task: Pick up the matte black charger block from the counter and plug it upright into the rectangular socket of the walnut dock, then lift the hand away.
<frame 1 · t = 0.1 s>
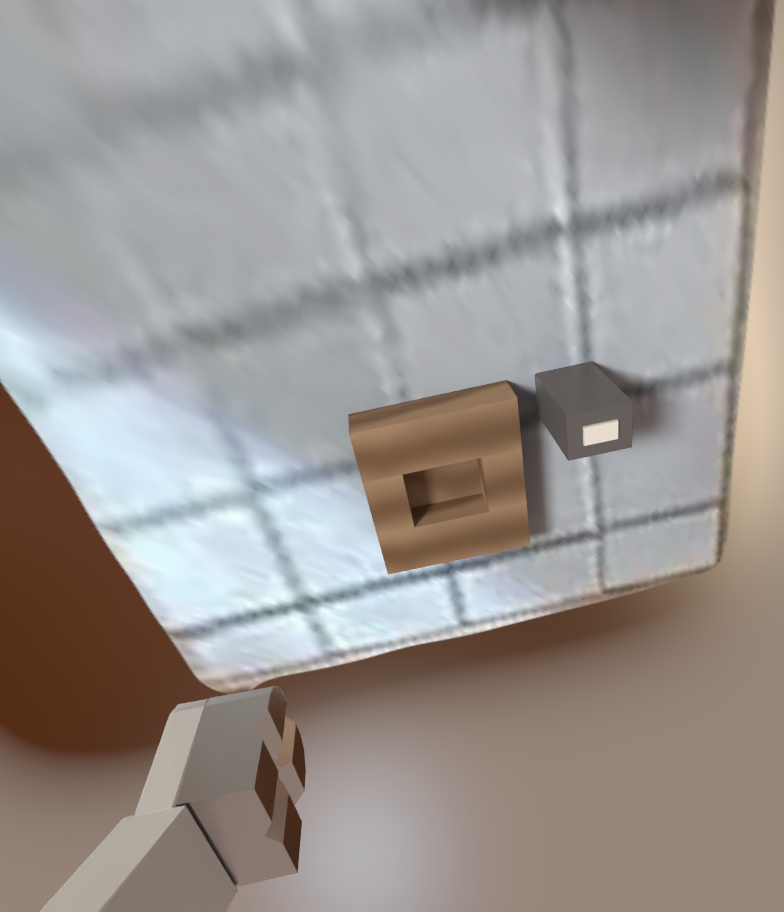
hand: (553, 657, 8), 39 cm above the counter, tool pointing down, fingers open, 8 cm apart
charger: (564, 388, 50), on the counter
dock: (440, 472, 53), on the counter
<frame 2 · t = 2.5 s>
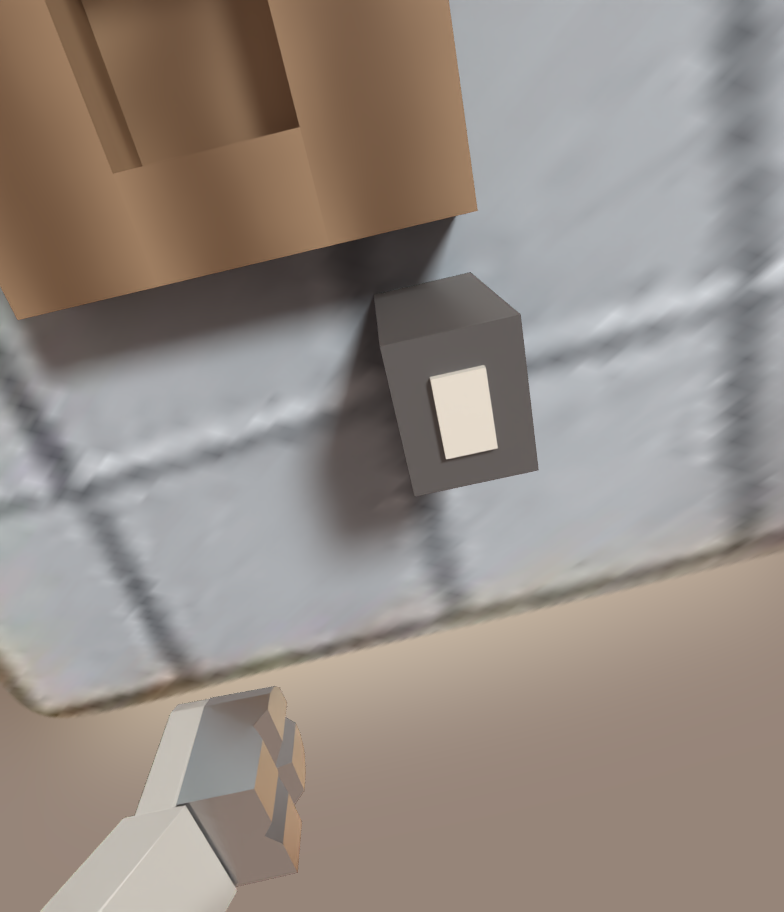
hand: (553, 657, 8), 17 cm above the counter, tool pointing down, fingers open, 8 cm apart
charger: (433, 342, 24), on the counter
dock: (193, 39, 19), on the counter
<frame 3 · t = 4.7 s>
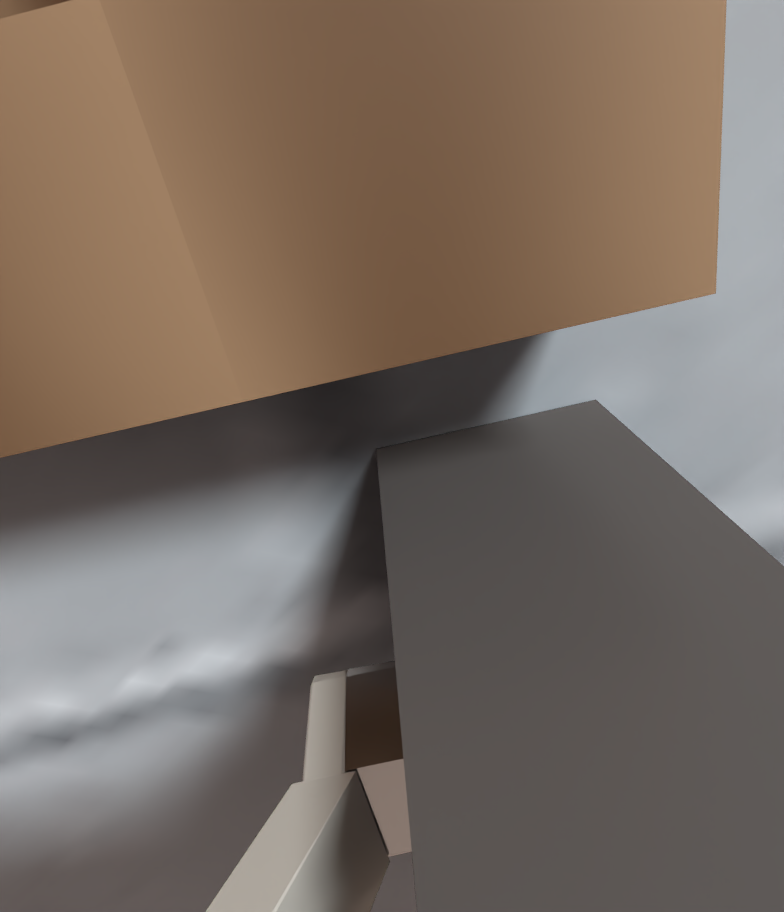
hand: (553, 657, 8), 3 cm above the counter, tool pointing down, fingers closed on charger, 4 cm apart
charger: (503, 538, 11), on the counter, touching gripper
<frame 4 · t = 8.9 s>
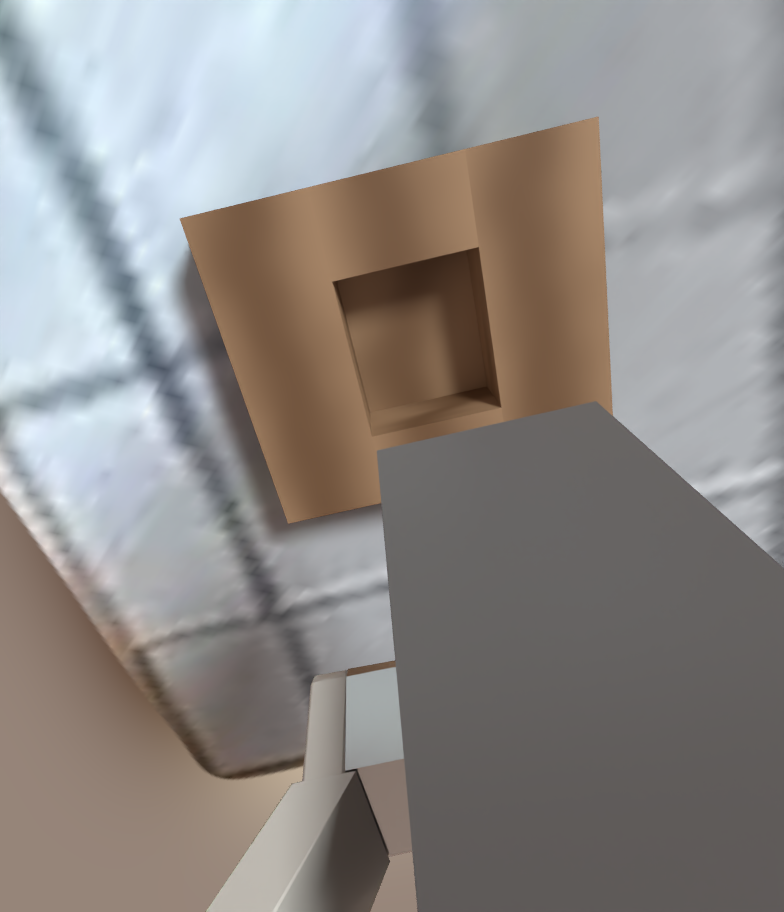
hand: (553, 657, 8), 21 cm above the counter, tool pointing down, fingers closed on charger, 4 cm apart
charger: (503, 539, 11), point 18 cm above the counter, touching gripper
dock: (413, 329, 27), on the counter
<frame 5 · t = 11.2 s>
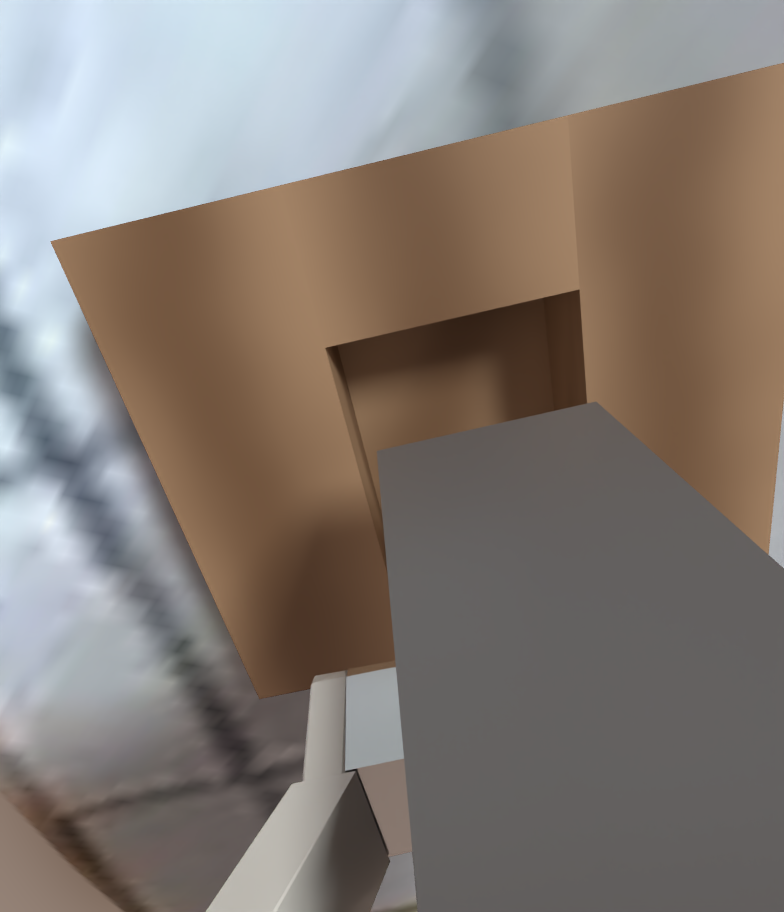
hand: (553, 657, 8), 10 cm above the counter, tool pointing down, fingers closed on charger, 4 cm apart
charger: (503, 539, 11), point 7 cm above the counter, touching gripper
dock: (452, 404, 18), on the counter
when the fingers open (5 cm above the counter, at t = 13.4 s): charger drops 1 cm, resting on dock.
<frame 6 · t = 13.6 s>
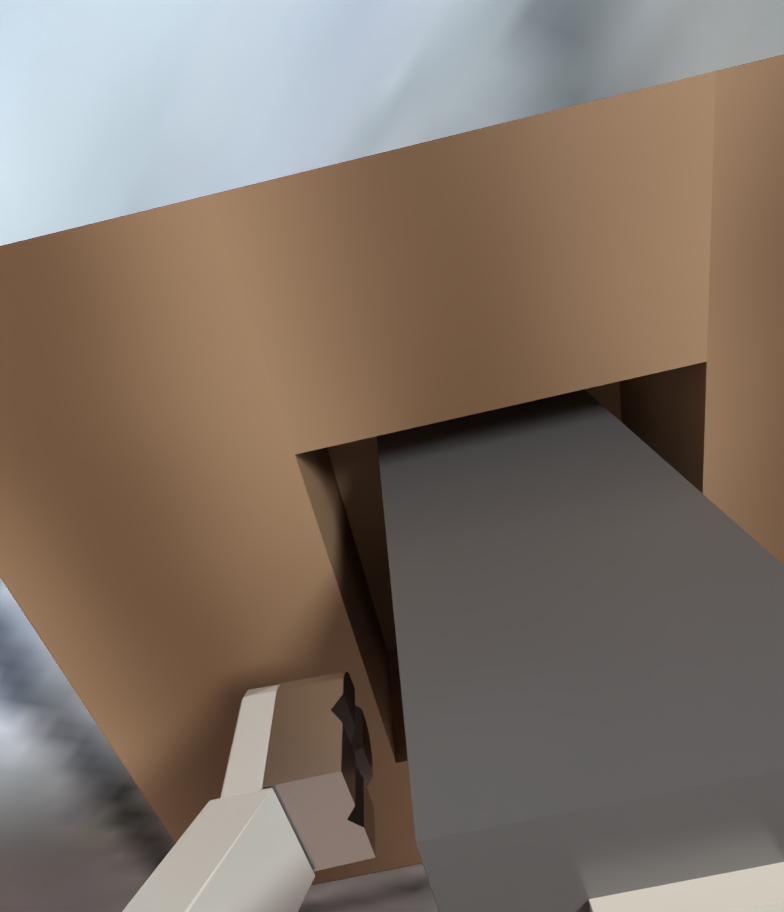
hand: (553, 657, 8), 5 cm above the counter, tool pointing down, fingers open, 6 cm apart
charger: (490, 506, 12), resting on dock
dock: (482, 494, 13), on the counter
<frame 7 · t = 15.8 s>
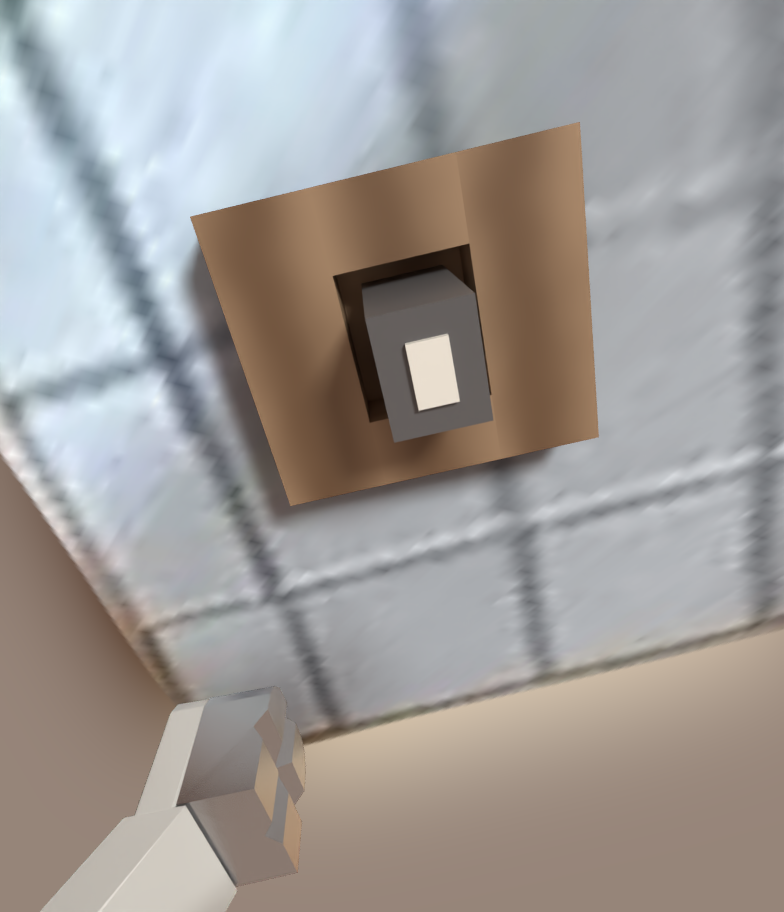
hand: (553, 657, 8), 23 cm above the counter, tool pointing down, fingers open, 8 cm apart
charger: (411, 324, 28), resting on dock
dock: (409, 322, 29), on the counter
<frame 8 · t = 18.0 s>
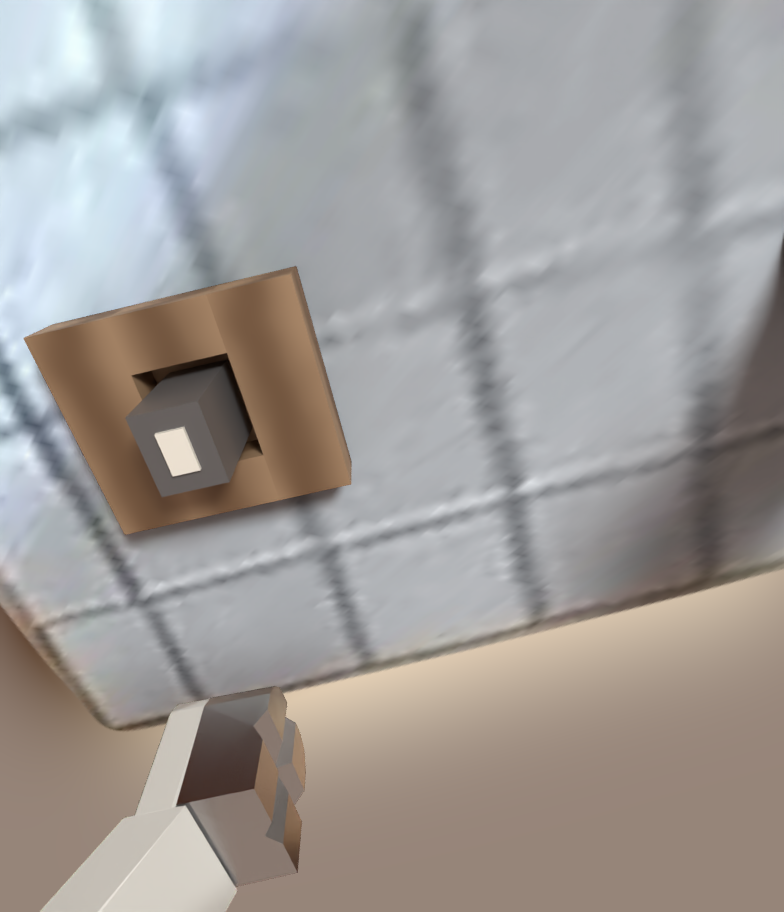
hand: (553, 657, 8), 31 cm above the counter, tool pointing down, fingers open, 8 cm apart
charger: (211, 400, 38), resting on dock
dock: (212, 397, 39), on the counter
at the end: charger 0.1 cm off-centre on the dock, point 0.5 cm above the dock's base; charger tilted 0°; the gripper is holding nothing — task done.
